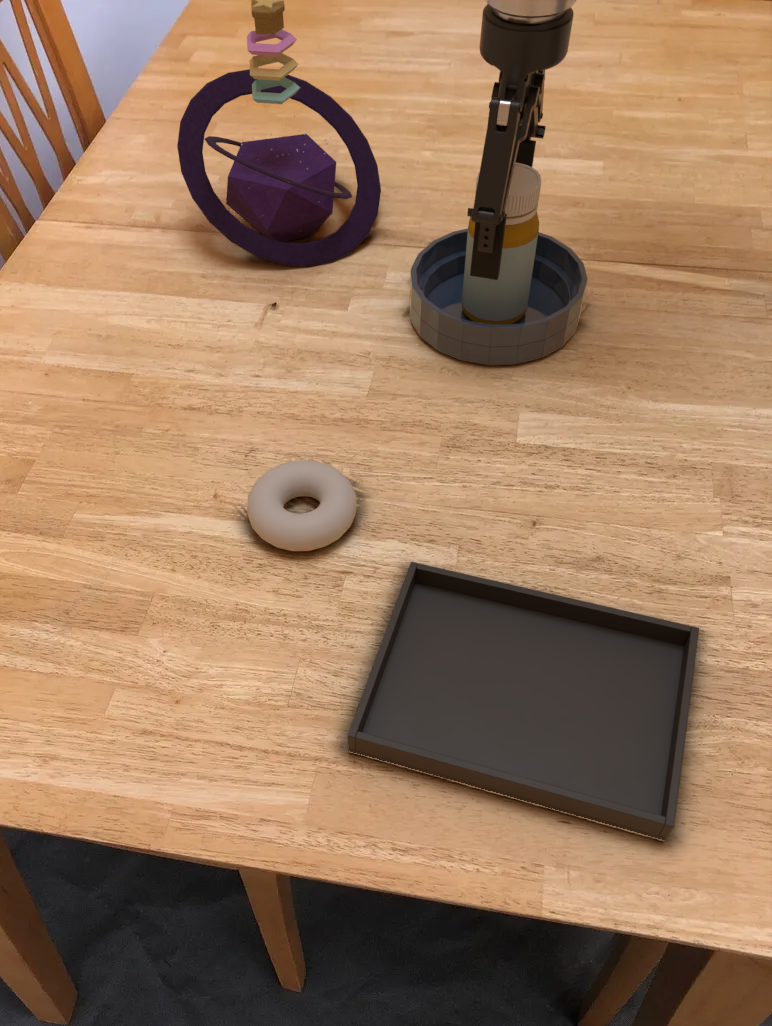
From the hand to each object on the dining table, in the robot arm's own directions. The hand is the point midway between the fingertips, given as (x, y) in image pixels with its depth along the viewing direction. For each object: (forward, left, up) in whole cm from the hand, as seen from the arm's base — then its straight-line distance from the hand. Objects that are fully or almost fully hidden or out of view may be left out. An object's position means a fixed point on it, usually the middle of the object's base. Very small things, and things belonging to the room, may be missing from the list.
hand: (499, 237), depth 94 cm
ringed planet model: (+28, -10, -9) cm, 31 cm away
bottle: (0, 0, -9) cm, 9 cm away
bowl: (0, 0, -9) cm, 9 cm away
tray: (-13, +47, -9) cm, 50 cm away
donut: (+10, +34, -9) cm, 37 cm away
